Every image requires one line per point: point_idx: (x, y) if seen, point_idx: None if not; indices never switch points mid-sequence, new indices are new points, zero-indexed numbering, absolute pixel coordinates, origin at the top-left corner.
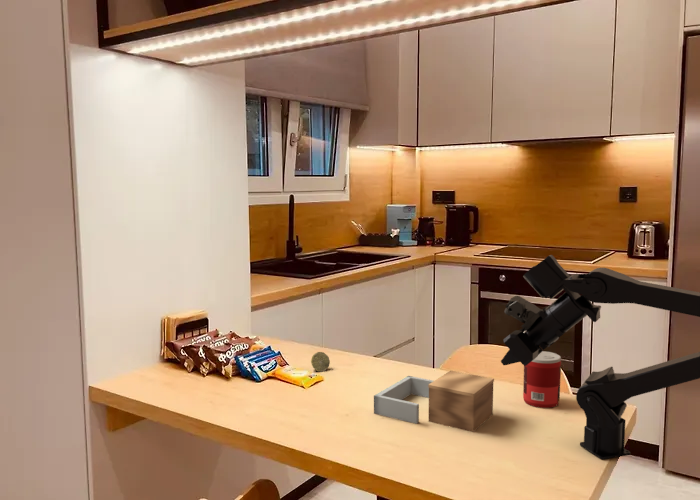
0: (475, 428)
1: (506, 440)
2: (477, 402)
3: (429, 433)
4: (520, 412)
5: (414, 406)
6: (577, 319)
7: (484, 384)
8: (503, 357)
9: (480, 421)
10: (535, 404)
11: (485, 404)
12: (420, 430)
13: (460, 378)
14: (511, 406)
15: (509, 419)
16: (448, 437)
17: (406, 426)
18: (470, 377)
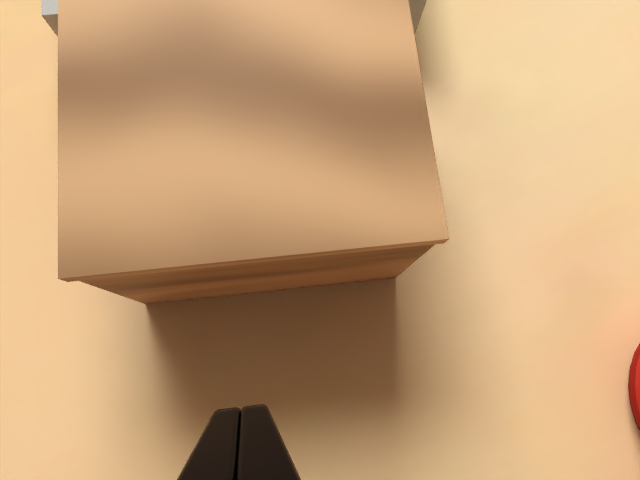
0: (173, 299)
1: (149, 477)
2: (158, 280)
3: (21, 161)
4: (510, 374)
5: (45, 9)
6: None
7: (286, 244)
8: (184, 470)
9: (233, 292)
10: (635, 406)
11: (296, 274)
12: (29, 116)
13: (296, 62)
14: (549, 303)
15: (392, 370)
16: (27, 245)
17: (34, 52)
18: (358, 103)
